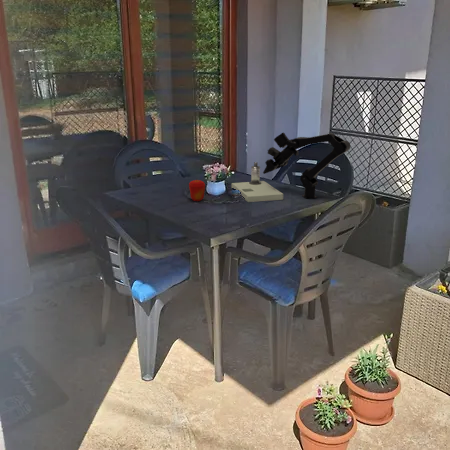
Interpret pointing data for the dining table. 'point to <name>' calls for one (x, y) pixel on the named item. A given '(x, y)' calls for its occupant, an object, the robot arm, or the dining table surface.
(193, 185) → the red cylinder
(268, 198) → the block
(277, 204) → the dining table surface
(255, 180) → the grey upright piece
